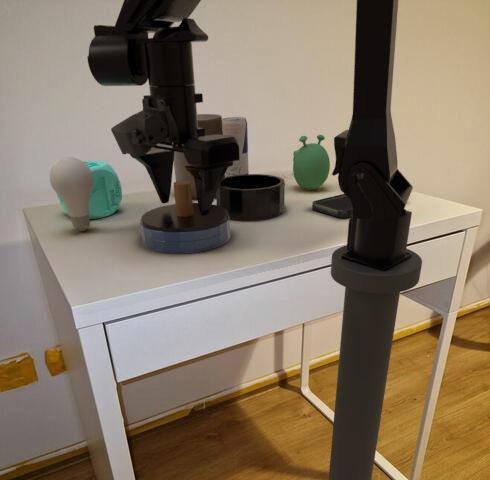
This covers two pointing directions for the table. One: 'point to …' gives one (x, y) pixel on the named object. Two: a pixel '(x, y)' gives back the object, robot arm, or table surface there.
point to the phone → (334, 206)
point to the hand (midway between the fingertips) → (183, 208)
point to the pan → (185, 239)
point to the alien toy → (311, 164)
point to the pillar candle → (206, 121)
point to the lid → (183, 213)
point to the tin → (251, 196)
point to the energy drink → (239, 132)
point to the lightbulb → (73, 188)
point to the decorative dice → (102, 190)
